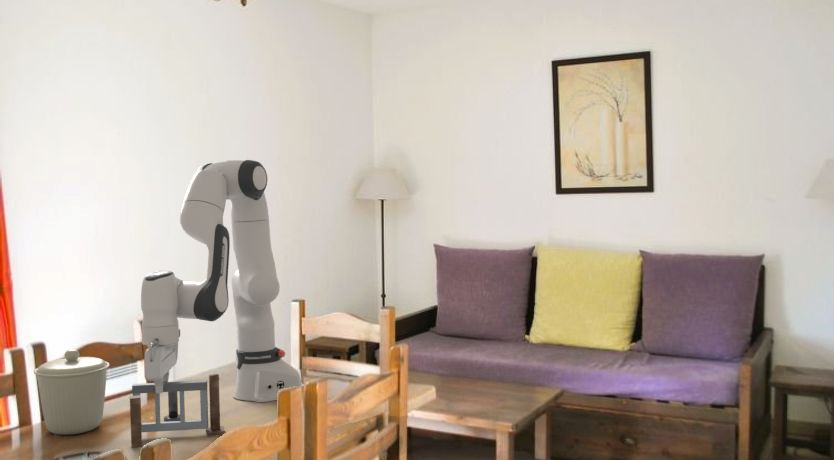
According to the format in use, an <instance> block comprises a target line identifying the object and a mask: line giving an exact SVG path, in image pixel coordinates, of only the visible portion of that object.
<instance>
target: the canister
mask: <svg viewBox="0 0 834 460" xmlns="http://www.w3.org/2000/svg"><path fill="white" fill-rule="evenodd" d="M110 366H111V365H110V363H109V362H108V361H105V360H104V359H102V358H99V357H94V356H93V357H92V356H80V352H79V350H77V349H73V348H72V349H67V350H66V351H65V352H64V358H59V359H53V360H50V361H47V362H44V363H42V364H41V365H39V366H38V367H37V368H35V369H34V370H33V374H34V375H35V376H36V378H37V385H38V391H39V397H40V403H41V404H40V405H41V409H42V415H43V419H44V424H45V427H46V429H47V430H48V432H50V433H52V434H53V435H54V434H55V435H59V436H60V435H61V436H66V435H67V436H68V435H78V434H83V433H87V432H90V431H92V430H95V429H96V428H97V427H99V426H100V424H101V423H102V421H103V417H104V409H105V398H106V385H107V376H108V375H107V374H108V368H109V367H110Z"/></svg>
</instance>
